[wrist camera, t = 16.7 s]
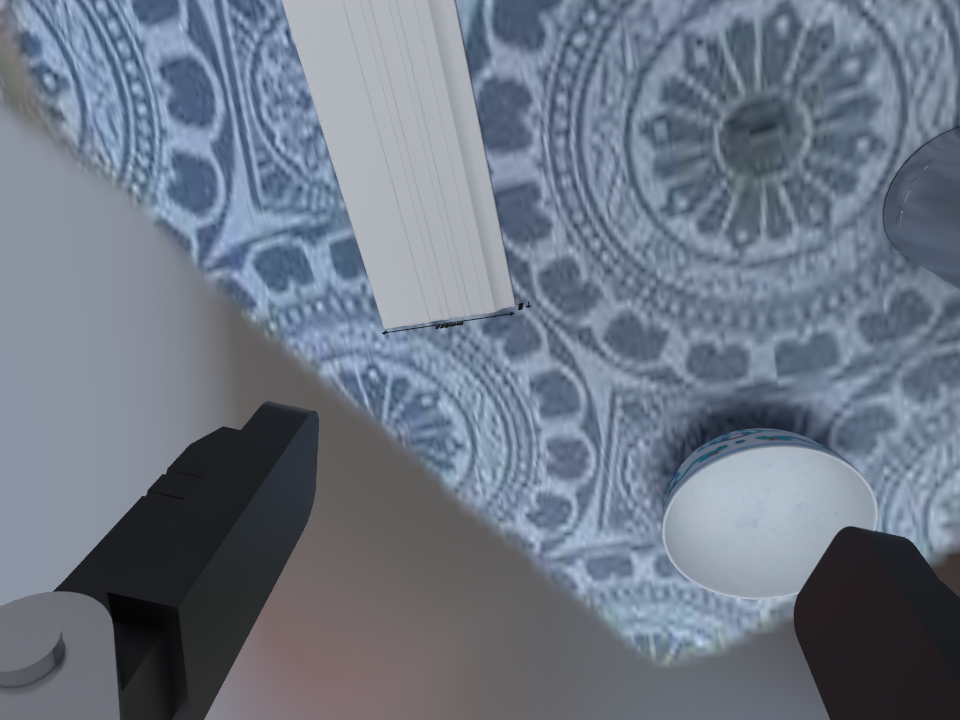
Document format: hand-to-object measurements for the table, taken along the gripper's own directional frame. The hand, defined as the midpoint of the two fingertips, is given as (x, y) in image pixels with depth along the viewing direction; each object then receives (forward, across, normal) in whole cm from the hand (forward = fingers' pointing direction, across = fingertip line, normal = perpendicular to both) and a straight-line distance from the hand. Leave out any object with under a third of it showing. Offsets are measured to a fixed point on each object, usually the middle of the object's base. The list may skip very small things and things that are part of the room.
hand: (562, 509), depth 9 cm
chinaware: (+36, -21, +22) cm, 47 cm away
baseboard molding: (+36, +11, -1) cm, 38 cm away
